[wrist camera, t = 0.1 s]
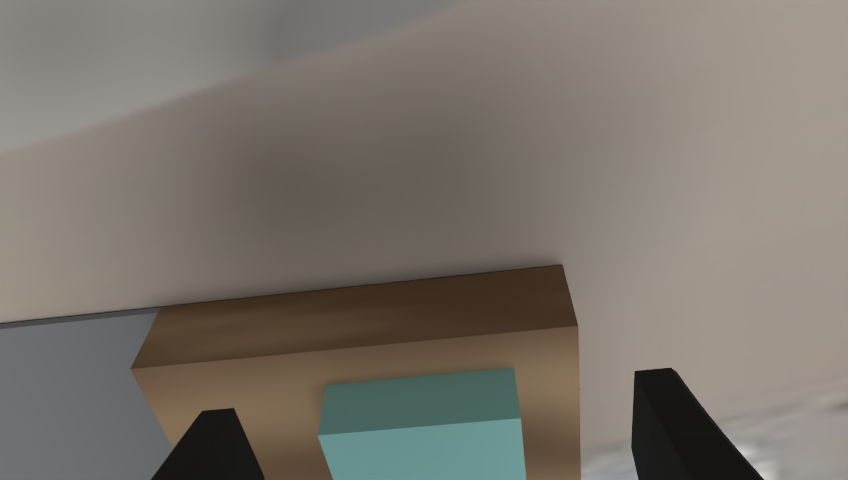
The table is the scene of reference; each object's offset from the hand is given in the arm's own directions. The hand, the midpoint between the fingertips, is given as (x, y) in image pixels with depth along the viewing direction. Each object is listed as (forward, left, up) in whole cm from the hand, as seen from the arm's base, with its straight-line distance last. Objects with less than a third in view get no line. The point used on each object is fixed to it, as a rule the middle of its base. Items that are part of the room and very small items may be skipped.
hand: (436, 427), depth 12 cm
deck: (-10, +3, -10) cm, 15 cm away
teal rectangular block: (-10, +1, -7) cm, 13 cm away
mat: (-10, +16, -10) cm, 22 cm away
